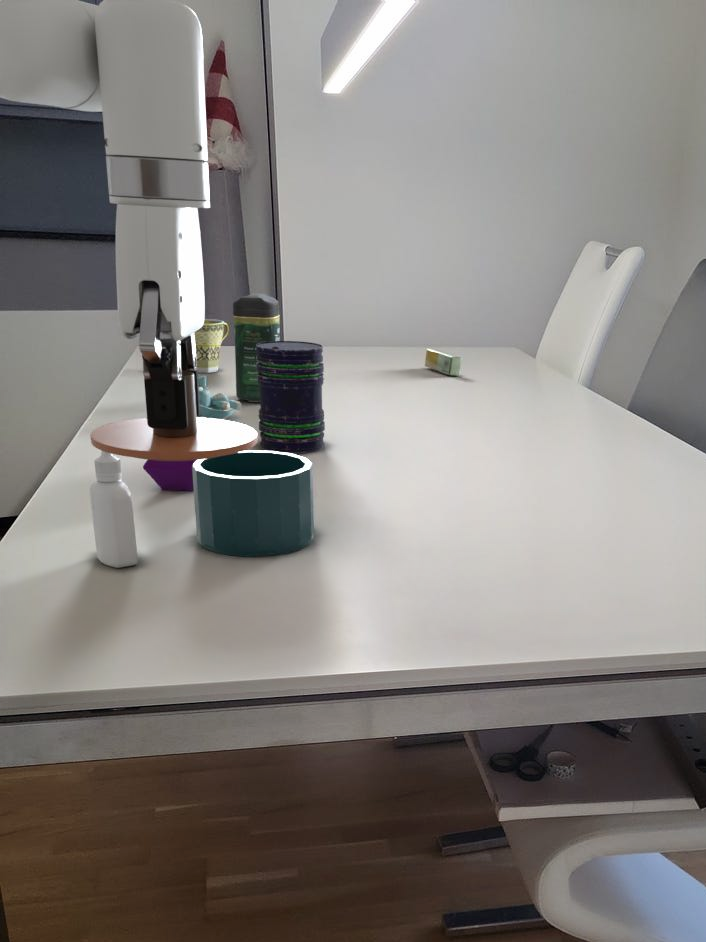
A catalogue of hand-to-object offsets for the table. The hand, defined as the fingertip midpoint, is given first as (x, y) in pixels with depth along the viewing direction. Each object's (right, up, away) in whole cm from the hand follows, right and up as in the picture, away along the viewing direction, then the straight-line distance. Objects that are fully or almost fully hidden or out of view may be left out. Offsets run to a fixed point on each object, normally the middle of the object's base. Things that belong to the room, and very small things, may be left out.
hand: (174, 420), depth 87 cm
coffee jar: (-15, +26, +105) cm, 109 cm away
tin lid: (0, -2, +1) cm, 2 cm away
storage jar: (-3, +11, +71) cm, 72 cm away
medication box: (+17, +41, +143) cm, 149 cm away
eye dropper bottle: (-12, -10, +20) cm, 26 cm away
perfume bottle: (-13, +1, +47) cm, 49 cm away
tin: (+1, -7, +29) cm, 30 cm away
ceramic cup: (-32, +39, +133) cm, 142 cm away
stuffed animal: (-21, +19, +88) cm, 93 cm away
